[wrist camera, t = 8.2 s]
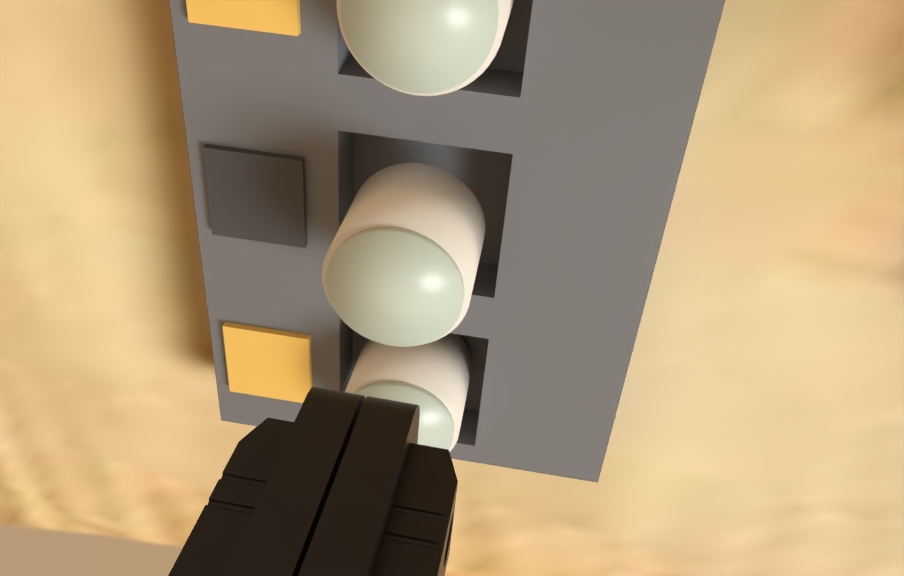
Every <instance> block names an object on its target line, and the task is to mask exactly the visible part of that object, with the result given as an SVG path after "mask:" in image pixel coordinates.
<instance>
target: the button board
mask: <svg viewBox="0 0 904 576" xmlns="http://www.w3.org/2000/svg"><path fill="white" fill-rule="evenodd" d="M169 2H170V10H171V18H172V26H173V34H174V42H175V50H176V58H177V66H178V75H179V83H180V91H181V99H182V107H183V115H184V123H185V131H186V139H187V147H188V155H189V164H190V172H191V180H192V188H193V196H194V204H195V212H196V220H197V228H198V236H199V244H200V252H201V261H202V269H203V277H204V285H205V293H206V301H207V309H208V317H209V325H210V333H211V341H212V350H213V358H214V366H215V374H216V382H217V390H218V398H219V406H220V414H221V420H223V421H229V422H235V423H241V424H247V425H253V426H258V425H259V424H261V423H262V422H263V421H264V420H265V419H267V418H274V419H279V420H285V421H290V422H294V421H295V419H296V417H297V415H298V413H299V411H300V408H301V406H302V404H303V402H304V400H305V398H306V396H307V394H308V392H309V390H310V389H311V388H312V387H318V388H323V389H329V390H335V391H340V392H345V391H346V388H347V386H348V383H349V380H350V378H351V375H352V372H353V370H354V367H355V364H356V362H357V359H358V357H359V354H360V351H361V349H362V346H363V343H364V341H365V338H366V337H364V336H362V335H360V334H358V333H357V332H356V331H354V330H353V329H351V328H350V327H349V326H348V325H347V324H345V322H344V321H343V320H342V319H341V318H340V317H339V316H338V314H337V313H336V312H335V310H334V309H333V307H332V306H331V304H330V302H329V301H328V299H327V296H326V294H325V291H324V287H323V282H322V267H323V262H324V259H325V256H326V254H327V251H328V250H329V248H330V246H331V244H332V242H333V240H334V238H335V236H336V234H337V232H338V230H339V228H340V226H341V224H342V222H343V220H344V218H345V216H346V214H347V212H348V210H349V208H350V206H351V204H352V202H353V200H354V198H355V196H356V194H357V192H358V191H359V189H360V188H361V186H362V185H363V184H364V182H365V181H366V180H367V179H368V178H369V177H371V176H372V175H373V174H375V173H376V172H378V171H379V170H382V169H384V168H386V167H389V166H392V165H396V164H402V163H422V164H427V165H432V166H435V167H438V168H440V169H443V170H445V171H447V172H449V173H451V174H452V175H454V176H456V177H457V178H458V179H460V180H461V181H462V182H463V183H464V184H465V185H466V186H467V187H468V188H469V189H470V190H471V191H472V192H473V194H474V195H475V197H476V198H477V200H478V202H479V204H480V206H481V208H482V211H483V215H484V219H485V237H484V242H483V246H482V251H481V255H480V259H479V264H478V268H477V273H476V277H475V282H474V286H473V291H472V295H471V300H470V304H469V307H468V310H467V313H466V315H465V316H464V318H463V320H462V321H461V322H460V324H459V325H458V326H457V327H456V328H455V329H454V330H453V331H452V332H450V333H453V334H459V335H460V336H461V338H462V339H463V340H464V341H465V343H466V344H467V346H468V348H469V350H470V353H471V357H472V371H471V376H470V382H469V387H468V392H467V397H466V402H465V407H464V412H463V417H462V422H461V427H460V432H459V437H458V440H457V442H456V444H455V446H454V448H453V449H452V450H451V451H450V452H449V453H450V456H451V458H453V459H459V460H465V461H471V462H477V463H483V464H489V465H495V466H501V467H507V468H513V469H519V470H525V471H531V472H537V473H543V474H550V475H556V476H562V477H568V478H574V479H580V480H586V481H592V482H598V480H599V476H600V472H601V468H602V464H603V461H604V457H605V453H606V449H607V445H608V442H609V438H610V434H611V430H612V427H613V423H614V419H615V415H616V411H617V408H618V404H619V400H620V396H621V392H622V389H623V385H624V381H625V377H626V374H627V370H628V366H629V362H630V358H631V355H632V351H633V347H634V343H635V339H636V336H637V332H638V328H639V324H640V321H641V317H642V313H643V309H644V305H645V302H646V298H647V294H648V290H649V286H650V283H651V279H652V275H653V271H654V268H655V264H656V260H657V256H658V252H659V249H660V245H661V241H662V237H663V233H664V230H665V226H666V222H667V218H668V215H669V211H670V207H671V203H672V199H673V196H674V192H675V188H676V184H677V180H678V177H679V173H680V169H681V165H682V161H683V158H684V154H685V150H686V146H687V143H688V139H689V135H690V131H691V127H692V124H693V120H694V116H695V112H696V108H697V105H698V101H699V97H700V93H701V90H702V86H703V82H704V78H705V74H706V71H707V67H708V63H709V59H710V55H711V52H712V48H713V44H714V40H715V37H716V33H717V29H718V25H719V21H720V18H721V14H722V10H723V6H724V2H725V0H514V2H513V6H512V9H511V12H510V16H509V19H508V22H507V25H506V29H505V32H504V35H503V38H502V41H501V45H500V47H499V49H498V51H497V54H496V56H495V57H494V59H493V60H492V62H491V63H490V65H489V66H488V67H487V69H486V70H485V71H484V72H483V73H482V74H481V75H480V76H479V77H478V78H476V79H475V80H474V81H472V82H471V83H469V84H468V85H466V86H465V87H462V88H460V89H458V90H456V91H453V92H450V93H447V94H442V95H436V96H418V95H411V94H406V93H403V92H400V91H397V90H394V89H392V88H390V87H388V86H386V85H384V84H382V83H381V82H379V81H378V80H376V79H375V78H374V77H372V76H371V75H370V74H369V73H367V72H366V71H365V70H364V69H363V68H362V67H361V66H360V64H359V63H358V62H357V60H356V59H355V58H354V57H353V55H352V53H351V52H350V50H349V49H348V47H347V45H346V43H345V40H344V38H343V36H342V33H341V30H340V26H339V21H338V16H337V0H169Z"/></svg>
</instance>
